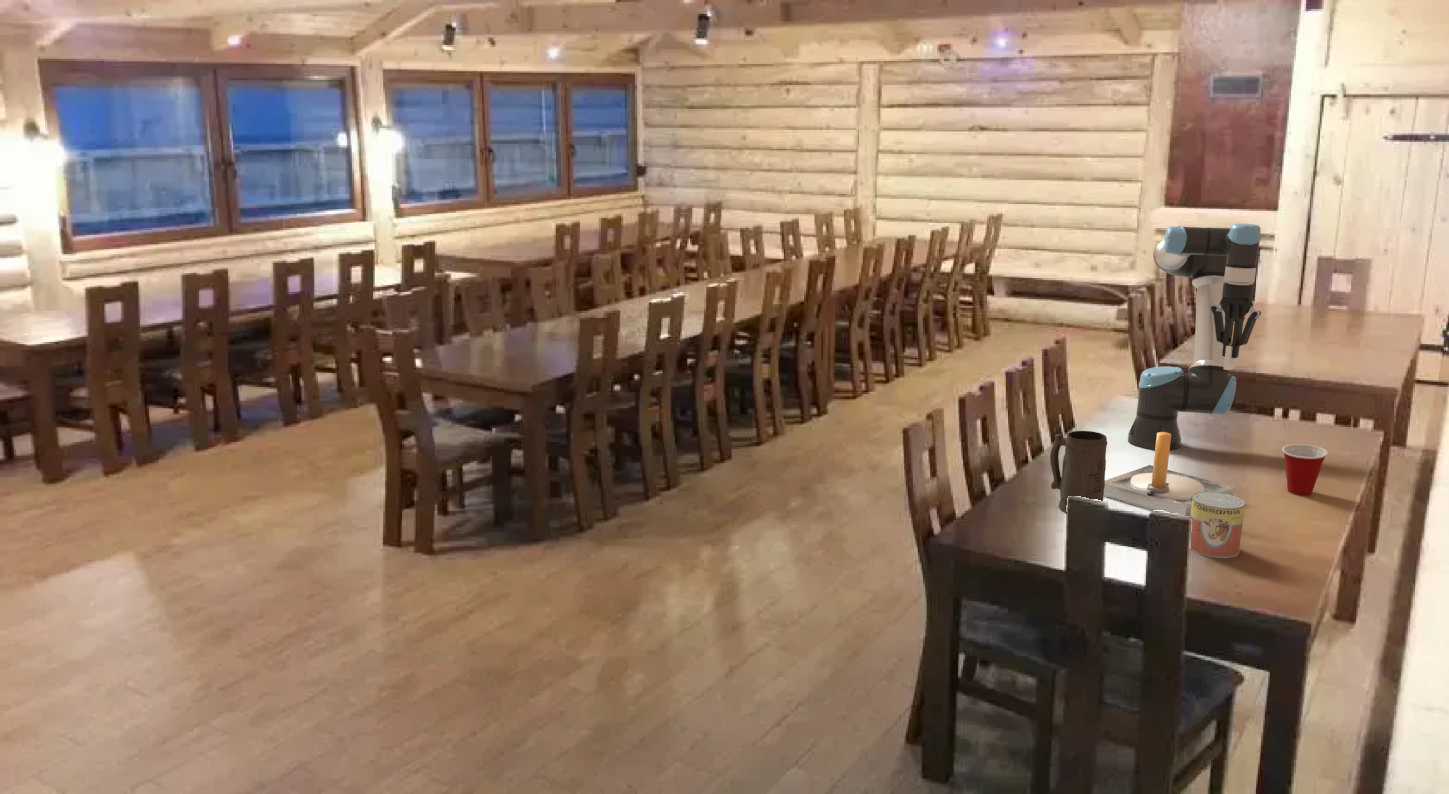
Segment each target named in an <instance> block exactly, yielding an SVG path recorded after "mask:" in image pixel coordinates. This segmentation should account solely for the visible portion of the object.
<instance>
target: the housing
mask: <svg viewBox="0 0 1449 794" xmlns="http://www.w3.org/2000/svg"><path fill="white" fill-rule="evenodd" d="M1143 473H1153V465H1150V464H1148V465H1146V466H1142V467H1139V468H1137V469H1135V470H1131V471H1129V472H1126V473H1123V474H1120V475H1118V476H1117V475H1116V476H1115V477H1111V478H1109V479H1105V488H1104V496H1103V497H1106V498H1110V499H1113V500H1116V499H1117V500H1116V501H1119V500H1120V501H1119V502H1123V503H1126V504H1129V505H1133V506H1137V507H1140V508H1142V509H1147V510H1149V511H1153V510H1164V511H1167V512H1170V513H1178V514H1181V515H1184V516H1190V515H1191V506H1192V497H1191V499H1190V500H1172V499H1168V498H1165V497H1161V496H1158V495H1154V492H1152V491H1150V492H1148V493H1147V492H1144V491H1140V490H1136V489H1133V488H1131V486H1130V483H1131V478H1132V477H1133V476H1135V475H1138V474H1143ZM1167 474H1174V475H1179V476H1184V477H1187V478H1191V479H1193V480H1196V481H1198V482H1200V483H1201V484H1202V485H1203V486H1204V492H1219V493H1225V494H1230V495H1233V496H1234V494H1235V493H1234V491H1235V486H1231V485H1228V484H1224V483H1220V482H1215V481H1213V480H1208V479H1205V478H1200V477H1198V476H1193V475H1189V474H1186V473H1181V472H1179V471H1175V470H1171V469H1170V470H1169V469H1167Z"/></svg>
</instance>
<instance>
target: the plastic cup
mask: <svg viewBox="0 0 1449 794" xmlns="http://www.w3.org/2000/svg"><path fill="white" fill-rule="evenodd" d="M1281 451H1282V452H1283V456H1284V461H1285V473H1286V474H1285V475H1286V489H1287V492H1288V493H1291V494H1293V495H1296V494H1297V496H1311V495H1312V493H1313V491H1314V488H1315V485H1316V483H1317V480H1318V477H1319V473H1320V471H1321V468H1322V465H1323V463H1324V461H1325V459H1326V457H1327V455H1328V453H1329V452H1328V451H1327V449H1325V448H1323V447H1320V446H1316V445H1313V444H1306V443H1305V444H1304V443H1300V444H1299V443H1297V444H1296V443H1293V444H1286V445H1285V446H1283V447H1282V448H1281Z"/></svg>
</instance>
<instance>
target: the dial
mask: <svg viewBox="0 0 1449 794" xmlns="http://www.w3.org/2000/svg"><path fill="white" fill-rule="evenodd" d="M1170 441H1171V434H1170V433H1166V432H1158V433H1157V437H1156V447H1155V449H1154V456H1153V457H1154V458H1153V465H1152V466H1153V473H1143V474H1138V475H1135V476H1133V477H1132V478H1131V483H1130V486H1131V488H1133V489H1136V490H1140V491H1144V492H1147V493H1148V492H1150V491H1152V492H1154V495H1158V496H1161V497H1165V498H1168V499H1172V500H1190V499H1191V497H1192V496H1193V495H1194V494H1195V493H1199V492H1204V486H1203V485H1202V484H1201V483H1200V482H1198V481H1196V480H1193V479H1191V478H1187V477H1184V476H1179V475H1174V474H1167V470H1169V469H1168V468H1169V458H1170V452H1171V451H1170V450H1171V449H1170Z"/></svg>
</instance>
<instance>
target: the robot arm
mask: <svg viewBox="0 0 1449 794" xmlns="http://www.w3.org/2000/svg"><path fill="white" fill-rule="evenodd" d="M1261 230H1262V229H1261V226H1260V225H1258V224H1254V223H1233V224H1232V225H1231V226H1230V227H1202V226H1201V227H1197V226H1195V227H1194V226H1182V225H1177V226H1168V227H1167V228H1166V229H1165V233H1164V238H1163V240H1162V241H1161V242H1159V243H1158V244H1157V245H1156V247H1155V248H1154V251H1153V262H1154V263H1155V266H1157V267H1158V268H1159V269H1160V270H1161V271H1163V272H1164V273H1166V274H1169V275H1172V276H1176V277H1181V278H1183V277H1184V278H1191V284H1192V286H1194V288H1196V307H1195V309H1196V310H1195V332H1194V359H1193V364H1191V366H1189V367H1188V371H1187V373H1185V372H1184V371H1183V369H1182V368H1180V367H1179V366H1169V365H1167V366H1164V365H1163V366H1154V367H1149V368H1147V369H1145V370H1143V371H1142V372H1141V374H1140V379H1139V383H1138V396H1137V406H1136V414H1135V418H1134V421H1133V423H1132V425H1131V427H1130V429H1129V431H1128V435H1127V437H1128V438H1127V442H1128V443H1129V444H1131V445H1133V446H1137V447H1139V448H1144V449H1150V450H1155V447H1156V437H1157V433H1158V432H1166V433H1170V434H1171V441H1170V450H1175V449H1178V448H1180V447H1181V446H1182V445H1181V444H1182V437H1181V433H1180V428H1179V424H1178V414H1179V412H1181V413H1194V414H1197V413H1198V414H1209V415H1225V414H1227V413H1228V412H1229V411H1230V410H1231V407H1232V405H1233V401H1234V398H1235V393H1236V389H1237V378H1236V377H1237V376H1235V375H1231V371H1232V370H1234V369H1235V361H1236V359H1237V358H1239V353H1240V347H1241V346H1245V345H1247V344H1248V342H1249V339H1250V337H1251V334H1252V332H1253V329H1254V326H1255V325H1256V323H1257V320H1258V318H1259V317H1260V316H1261V315H1262V312H1261V311H1260V310H1257V309H1256V308H1254V304H1253V297H1254V290H1255V285H1254V284H1253V283H1255V281H1256V273H1257V272H1256V271H1257V264H1258V257H1259V248H1260V242H1261V240H1262V239H1261ZM1248 313H1249V314H1248ZM1247 315H1248V318H1247V320H1246V319H1245V317H1246V316H1247ZM1245 320H1246V323H1245V325H1244V321H1245ZM1243 327H1244V328H1243Z"/></svg>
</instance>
